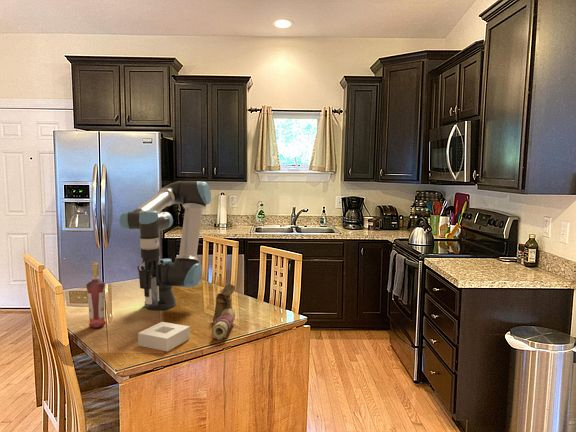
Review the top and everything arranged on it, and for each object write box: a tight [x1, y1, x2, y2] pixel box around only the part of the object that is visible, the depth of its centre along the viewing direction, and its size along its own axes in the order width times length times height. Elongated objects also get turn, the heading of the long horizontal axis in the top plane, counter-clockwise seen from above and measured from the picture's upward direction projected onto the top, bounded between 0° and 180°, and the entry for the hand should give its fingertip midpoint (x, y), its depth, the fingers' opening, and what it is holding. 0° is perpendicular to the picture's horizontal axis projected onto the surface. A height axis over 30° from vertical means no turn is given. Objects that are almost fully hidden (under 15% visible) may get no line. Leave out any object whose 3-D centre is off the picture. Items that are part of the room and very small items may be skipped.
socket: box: [137, 321, 191, 352], centre depth 171 cm, size 14×14×5 cm
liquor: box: [86, 262, 107, 329], centre depth 187 cm, size 7×7×28 cm
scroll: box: [211, 308, 236, 340], centre depth 183 cm, size 8×8×20 cm
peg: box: [148, 276, 157, 307], centre depth 183 cm, size 4×4×12 cm
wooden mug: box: [212, 284, 236, 321], centre depth 197 cm, size 9×14×18 cm, turn 29°
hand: (152, 302), depth 183 cm, fingers closed on peg, 4 cm apart
